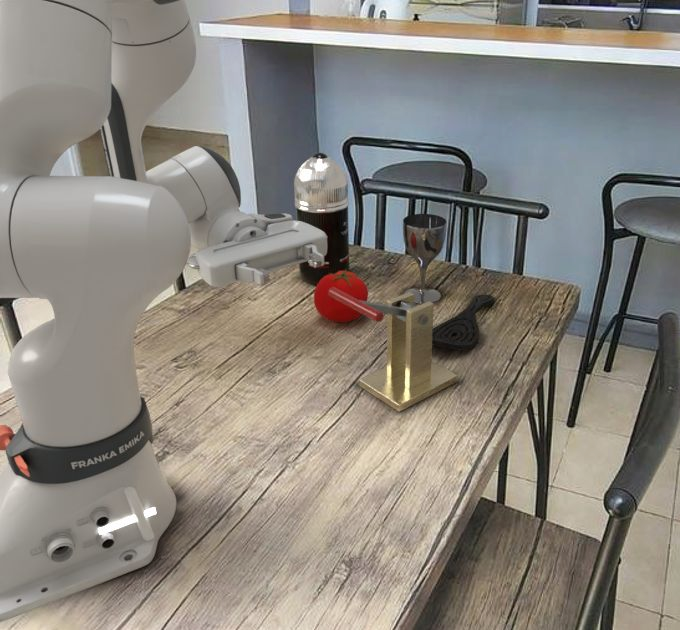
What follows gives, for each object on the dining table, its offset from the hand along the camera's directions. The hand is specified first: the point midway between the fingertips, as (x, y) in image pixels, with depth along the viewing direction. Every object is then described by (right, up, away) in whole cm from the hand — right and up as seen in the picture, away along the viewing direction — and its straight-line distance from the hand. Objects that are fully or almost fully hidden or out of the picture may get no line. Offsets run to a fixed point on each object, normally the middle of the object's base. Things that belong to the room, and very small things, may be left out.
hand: (293, 270), depth 98 cm
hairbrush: (+26, -9, +22) cm, 35 cm away
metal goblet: (+19, -3, +33) cm, 38 cm away
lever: (+13, -7, -4) cm, 15 cm away
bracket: (+16, -17, +5) cm, 24 cm away
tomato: (+4, -7, +24) cm, 26 cm away
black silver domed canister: (-1, +1, +39) cm, 39 cm away
